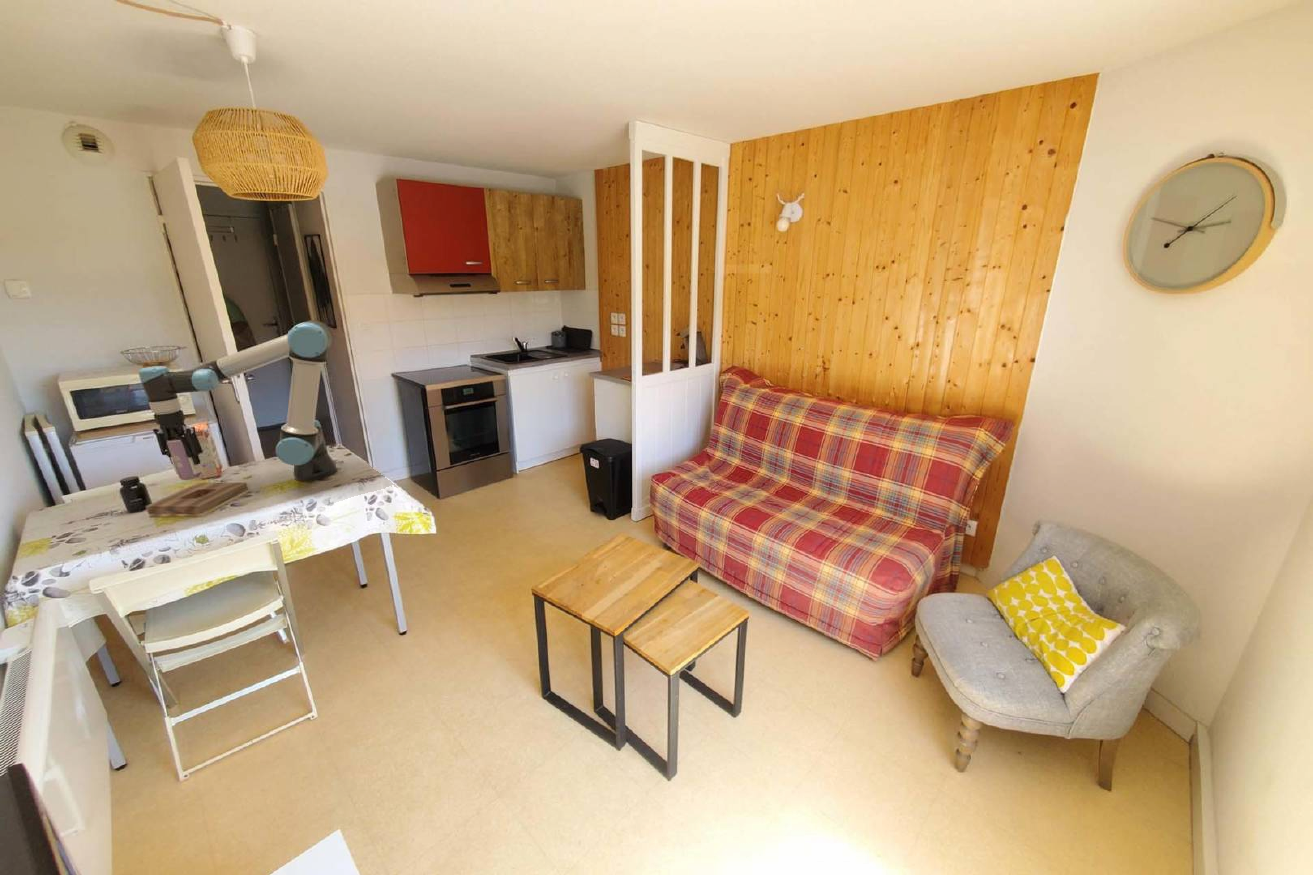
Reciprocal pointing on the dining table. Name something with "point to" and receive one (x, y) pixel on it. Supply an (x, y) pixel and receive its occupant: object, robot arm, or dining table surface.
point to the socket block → (197, 500)
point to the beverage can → (181, 459)
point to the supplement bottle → (134, 494)
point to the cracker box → (207, 451)
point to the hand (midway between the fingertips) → (189, 472)
